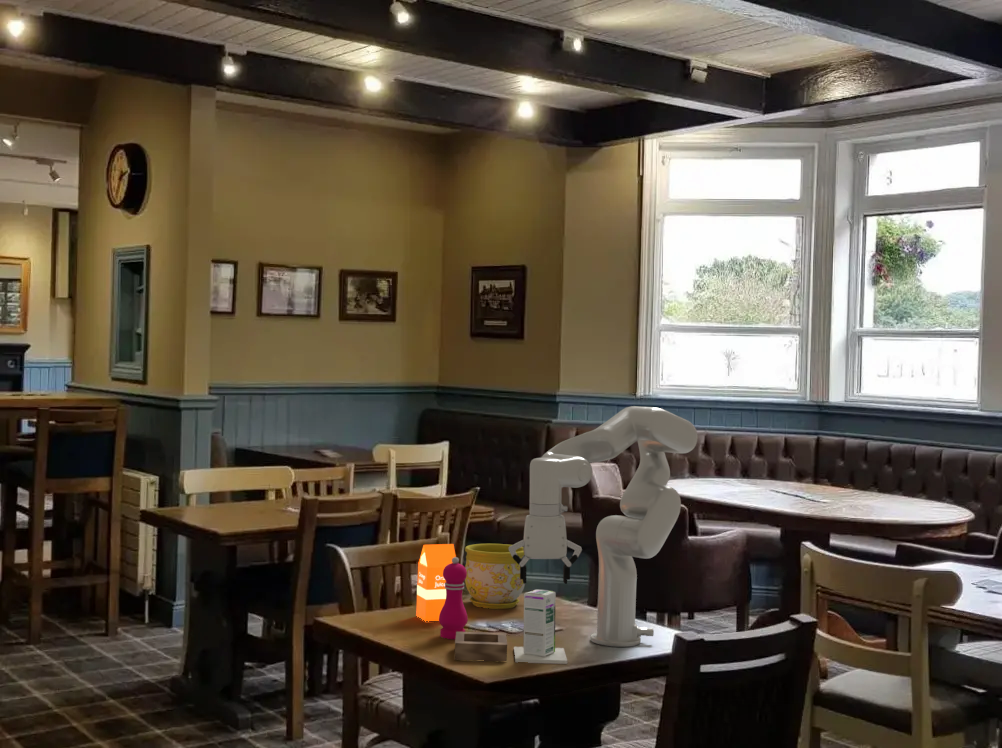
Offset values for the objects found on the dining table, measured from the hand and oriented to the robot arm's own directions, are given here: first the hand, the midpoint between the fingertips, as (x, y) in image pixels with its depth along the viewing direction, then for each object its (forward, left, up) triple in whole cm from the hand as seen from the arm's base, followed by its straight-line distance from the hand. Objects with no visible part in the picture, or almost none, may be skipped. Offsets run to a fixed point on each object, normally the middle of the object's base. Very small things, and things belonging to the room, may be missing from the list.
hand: (544, 582), depth 266 cm
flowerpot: (+11, -59, -18) cm, 63 cm away
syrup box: (+1, +1, -17) cm, 17 cm away
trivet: (+1, +1, -17) cm, 17 cm away
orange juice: (+27, -38, -18) cm, 50 cm away
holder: (+15, +1, -17) cm, 23 cm away
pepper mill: (+22, -17, -18) cm, 33 cm away
